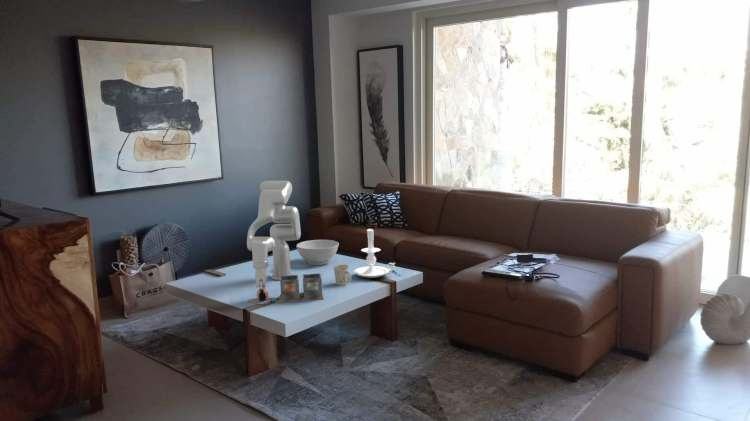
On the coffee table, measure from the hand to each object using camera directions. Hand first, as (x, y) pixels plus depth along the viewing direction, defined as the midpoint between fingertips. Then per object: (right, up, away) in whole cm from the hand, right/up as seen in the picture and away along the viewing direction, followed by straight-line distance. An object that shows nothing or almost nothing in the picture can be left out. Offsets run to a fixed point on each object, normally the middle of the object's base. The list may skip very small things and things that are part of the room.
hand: (262, 298), depth 303 cm
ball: (0, +2, 0) cm, 2 cm away
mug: (+41, +4, +24) cm, 48 cm away
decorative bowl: (+22, +11, +74) cm, 78 cm away
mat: (0, -1, 0) cm, 1 cm away
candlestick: (+58, +7, +39) cm, 70 cm away
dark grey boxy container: (+20, 0, +3) cm, 20 cm away
